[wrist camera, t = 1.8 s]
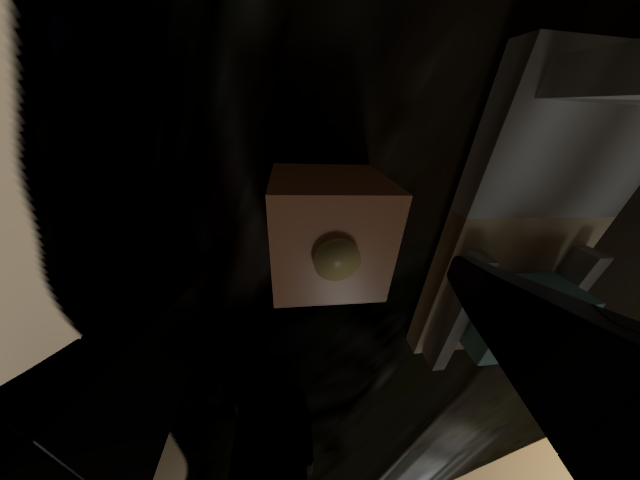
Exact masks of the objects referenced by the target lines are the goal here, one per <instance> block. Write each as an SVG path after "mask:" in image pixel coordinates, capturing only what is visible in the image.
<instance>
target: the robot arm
mask: <svg viewBox="0 0 640 480" xmlns="http://www.w3.org/2000/svg"><path fill="white" fill-rule="evenodd" d="M447 278H448V281H449V282H450V284H451V286H452V288H453V290H454V292H455V294H456V296H457V298H458V300H459V302H460V303H461V305H462V307H463V309H464V311H465V313H466V314H467V316H468V317H469V319H470V321H471V322H472V324H473V325H474V327H475V328H476V330H477V331H478V333H479V334H480V336H481V337H482V339H483V341H484V342H485V344H486V345H487V347H488V348H489V350H490V351H491V353H492V354H493V356H494V357H495V359H496V360H497V362H498V364H499V365H500V367H501V368H502V370H503V371H504V373H505V374H506V376H507V377H508V379H509V380H510V382H511V384H512V385H513V387H514V388H515V390H516V391H517V393H518V394H519V396H520V397H521V399H522V400H523V402H524V403H525V405H526V407H527V408H528V410H529V411H530V413H531V414H532V416H533V417H534V419H535V420H536V422H537V423H538V425H539V426H540V428H541V430H542V431H543V433H544V434H545V436H546V437H547V439H548V440H549V442H550V443H551V445H552V446H553V448H554V449H555V451H556V452H557V453H558V456H559V457H560V459H561V461H562V462H563V464H564V465H565V467H566V468H567V470H568V471H569V473H570V474H571V476H572V478H573V479H574V480H640V322H639V321H636V320H634V319H631V318H628V317H626V316H623V315H620V314H618V313H615V312H612V311H610V310H607V309H605V308H602V307H599V306H597V305H594V304H590V303H588V302H586V301H584V300H581V299H578V298H576V297H573V296H571V295H568V294H565V293H563V292H560V291H558V290H555V289H552V288H550V287H547V286H545V285H542V284H539V283H537V282H534V281H532V280H529V279H526V278H524V277H521V276H519V275H516V274H513V273H511V272H508V271H506V270H503V269H500V268H498V267H495V266H493V265H490V264H487V263H485V262H482V261H480V260H477V259H474V258H472V257H469V256H466V255H459V256H454V257H453V259H452V261H451V264H450V266H449V269H448V271H447ZM213 292H214V281H213V277H212V273H211V269H210V266H209V265H208V264H196V265H194V266H192V267H191V268H189V269H188V270H186V271H184V272H183V273H181V274H180V275H178V276H176V277H175V278H173V279H172V280H170V281H169V282H167V283H165V284H164V285H162V286H161V287H159V288H158V289H156V290H154V291H153V292H151V293H150V294H148V295H146V296H145V297H143V298H142V299H140V300H139V301H137V302H135V303H134V304H132V305H131V306H129V307H128V308H126V309H124V310H123V311H121V312H120V313H118V314H116V315H115V316H113V317H112V318H110V319H109V320H107V321H105V322H104V323H102V324H101V325H99V326H97V327H96V328H94V329H93V330H91V331H90V332H88V333H86V334H85V335H83V336H82V337H81V339H77V340H75V341H74V342H72V343H71V344H69V345H68V346H66V347H64V348H63V349H61V350H60V351H58V352H56V353H55V354H53V355H52V356H50V357H48V358H47V359H45V360H43V361H42V362H40V363H38V364H37V365H35V366H34V367H32V368H30V369H29V370H27V371H25V372H24V373H22V374H20V375H18V376H17V377H15V378H13V379H12V380H10V381H8V382H6V383H5V384H3V385H1V386H0V480H153V478H154V475H155V472H156V469H157V466H158V463H159V460H160V458H161V454H162V451H163V449H164V446H165V443H166V440H167V438H168V435H169V432H170V429H171V426H172V423H173V420H174V418H175V415H176V412H177V409H178V406H179V403H180V400H181V398H182V395H183V392H184V389H185V386H186V383H187V380H188V378H189V375H190V372H191V369H192V366H193V363H194V360H195V358H196V355H197V352H198V349H199V346H200V343H201V340H202V337H203V334H204V331H205V327H206V323H207V319H208V314H209V310H210V305H211V301H212V296H213ZM235 412H236V415H237V424H236V430H235V436H234V442H233V448H232V454H231V460H230V467H229V473H228V479H227V480H307V475H311V474H312V472H313V462H314V460H313V446H312V433H311V419H310V410H309V409H308V408H305V395H304V394H302V393H298V394H288V395H279V396H270V397H260V398H251V399H242V400H237V401H236V402H235Z"/></svg>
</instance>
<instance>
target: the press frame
mask: <svg viewBox="0 0 640 480" xmlns="http://www.w3.org/2000/svg"><path fill="white" fill-rule="evenodd" d="M639 185H640V38H639V39H633V38H624V37H614V36H605V35H595V34H585V33H576V32H566V31H557V30H547V29H539V30H535V31H532V32H529V33H526V34H523V35H519V36H516V37H513V38H510V39H508V42H507V45H506V48H505V51H504V54H503V57H502V60H501V63H500V65H499V68H498V71H497V74H496V77H495V80H494V83H493V86H492V89H491V92H490V95H489V97H488V100H487V103H486V106H485V109H484V112H483V115H482V118H481V121H480V124H479V127H478V129H477V132H476V135H475V138H474V141H473V144H472V147H471V150H470V153H469V156H468V159H467V161H466V164H465V167H464V170H463V173H462V176H461V179H460V182H459V185H458V188H457V191H456V193H455V196H454V199H453V202H452V205H451V208H450V211H449V214H448V217H447V220H446V223H445V225H444V228H443V231H442V234H441V237H440V240H439V243H438V246H437V249H436V252H435V255H434V257H433V260H432V263H431V266H430V269H429V272H428V275H427V278H426V281H425V284H424V287H423V289H422V292H421V295H420V298H419V301H418V304H417V307H416V310H415V313H414V316H413V319H412V321H411V324H410V327H409V330H408V333H407V336H406V339H407V341H408V343H409V345H410V347H411V348H412V350H413V352H414V353H423V355H424V357H425V359H426V361H427V363H428V364H429V366H430V368H431V370H432V371H435V370H444V369H445V367H446V365H447V363H448V361H449V359H450V357H451V356H452V354H453V352H454V350H458V349H464V347H463V346H462V344H461V343H460V342H459V340H460V338H461V336H462V334H463V333H464V331H465V329H466V327H467V325H468V323H469V321H470V319H469V317H468V316H467V314H466V313H465V311H464V309H463V307H462V305H461V303H460V302H459V300H458V298H457V296H456V294H455V292H454V290H453V288H452V286H451V284H450V282H449V281H448V278H447V271H448V269H449V266H450V264H451V261H452V259H453V257H454V256H459V255H466V256H469V257H472V258H474V259H477V260H480V261H482V262H485V263H487V264H490V265H493V266H495V267H498V268H500V269H503V270H506V271H508V272H511V273H513V274H514V273H535V272H555V273H557V274H558V275H560V276H562V277H563V278H565V279H566V280H568V281H570V282H571V283H573V284H575V285H576V286H578V287H579V288H581V289H583V290H584V291H586V292H587V291H588V290H589V289H590V288H591V286H592V285H593V284H594V283H595V281H596V280H597V279H598V278H599V276H600V275H601V274H602V273H603V272H604V270H605V269H606V268H607V267H608V265H609V264H610V263H611V262H612V260H613V259H614V258H613V257H611V256H608V255H606V254H604V253H602V252H600V251H598V250H595V249H593V247H594V246H595V245H596V243H597V242H598V240H599V239H600V238H601V236H602V235H603V234H604V232H605V231H606V230H607V228H608V227H609V226H610V224H611V223H612V221H613V220H614V219H615V217H616V216H617V215H618V213H619V212H620V211H621V209H622V208H623V207H624V205H625V204H626V202H627V201H628V200H629V198H630V197H631V196H632V194H633V193H634V192H635V190H636V189H637V188H638V186H639Z"/></svg>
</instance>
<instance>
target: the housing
mask: <svg viewBox="0 0 640 480" xmlns="http://www.w3.org/2000/svg"><path fill="white" fill-rule="evenodd" d="M265 197H266V210H267V223H268V236H269V249H270V262H271V275H272V288H273V301H274V308H286V307H303V306H320V305H338V304H355V303H373V302H386V300H387V296H388V292H389V288H390V284H391V280H392V276H393V272H394V268H395V264H396V260H397V256H398V252H399V248H400V244H401V240H402V236H403V232H404V228H405V224H406V220H407V216H408V212H409V208H410V205H411V201H412V197H413V196H412V195H411V194H410V193H408V192H407V191H405V190H404V189H403V188H401V187H400V186H398V185H397V184H396V183H394V182H393V181H391V180H390V179H389V178H387V177H386V176H384V175H383V174H381V173H380V172H379V171H377V170H376V169H374V168H373V167H372V166H370V165H344V164H292V163H274V164H273V168H272V172H271V176H270V179H269V183H268V187H267V191H266V195H265Z"/></svg>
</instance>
